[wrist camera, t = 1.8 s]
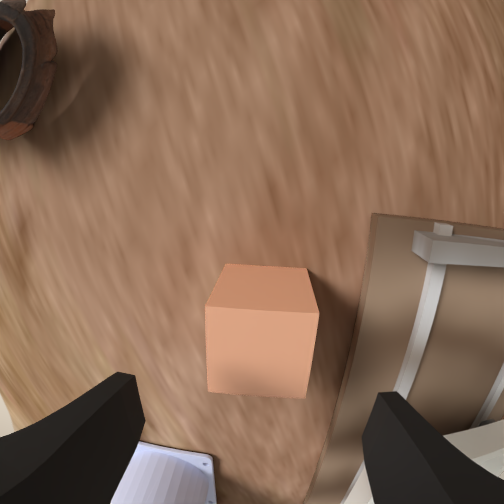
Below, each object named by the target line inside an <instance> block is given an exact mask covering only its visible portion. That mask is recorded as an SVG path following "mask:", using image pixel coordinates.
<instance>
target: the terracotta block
mask: <svg viewBox="0 0 504 504" xmlns="http://www.w3.org/2000/svg"><path fill="white" fill-rule="evenodd" d="M318 319H319V310H318V307H317V303H316V299H315V296H314V292H313V289H312V285H311V282H310V279H309V275H308V272H307V268H291V267H273V266H256V265H240V264H225V266H224V268H223V270H222V272H221V274H220V276H219V278H218V281H217V283H216V285H215V287H214V289H213V291H212V293H211V295H210V297H209V299H208V301H207V303H206V305H205V328H206V358H207V381H208V392H216V393H225V394H236V395H247V396H262V397H280V398H305V397H306V392H307V387H308V381H309V376H310V370H311V364H312V358H313V352H314V346H315V339H316V333H317V326H318Z"/></svg>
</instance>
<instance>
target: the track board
mask: <svg viewBox="0 0 504 504" xmlns="http://www.w3.org/2000/svg"><path fill="white" fill-rule="evenodd" d="M392 391H397V392H398V393H399V394H400V395H401V396H402V397H403V398H404V399H405V400H406V401H407V402H408V403H409V404H410V405H411V406H412V407H413V408H414V409H415V410H416V411H417V412H418V413H419V414H420V415H422V416H423V417H424V418H425V419H426V420H427V421H428V422H429V423H430V424H431V425H432V426H433V427H434V428H435V429H436V430H437V431H438V432H439V433H440V434H441V435H442V436H443V435H448V434H452V433H457V432H461V431H465V430H469V429H473V428H477V427H479V425H480V423H481V422H482V421H485V420H489V419H494V420H495V421H496V422H497V421H500V420H501V419H502V417H503V415H504V229H500V228H494V227H487V226H480V225H473V224H465V223H458V222H450V221H442V220H434V219H425V218H416V217H407V216H398V215H388V214H377V213H372V216H371V225H370V234H369V242H368V250H367V257H366V264H365V271H364V277H363V283H362V290H361V295H360V301H359V307H358V312H357V317H356V322H355V327H354V332H353V337H352V342H351V346H350V351H349V355H348V360H347V364H346V368H345V372H344V376H343V380H342V384H341V388H340V392H339V396H338V400H337V403H336V407H335V410H334V414H333V417H332V421H331V424H330V428H329V431H328V434H327V437H326V441H325V444H324V447H323V450H322V453H321V456H320V459H319V462H318V465H317V468H316V471H315V473H314V476H313V479H312V482H311V485H310V487H309V490H308V493H307V495H306V498H305V500H304V503H303V504H344V502H345V501H346V499H347V497H348V496H349V494H350V492H351V490H352V489H353V487H354V485H355V483H356V481H357V480H358V478H359V476H360V474H361V472H362V470H363V468H364V466H365V463H364V455H363V446H362V434H363V432H364V429H365V427H366V424H367V422H368V419H369V416H370V414H371V411H372V408H373V406H374V403H375V400H376V397H377V394H378V392H392Z"/></svg>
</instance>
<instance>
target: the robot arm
mask: <svg viewBox="0 0 504 504" xmlns="http://www.w3.org/2000/svg"><path fill="white" fill-rule="evenodd" d="M144 424H145V417H144V413H143V409H142V405H141V401H140V396H139V392H138V387H137V382H136V378H135V375H131V374H126V373H121V372H116V373H115V374H113V375H111V376H110V377H108V378H107V379H105V380H104V381H102V382H101V383H99V384H98V385H97V386H95V387H94V388H92V389H91V390H89V391H88V392H86V393H85V394H83V395H82V396H80V397H79V398H77V399H75V400H74V401H72V402H71V403H69V404H68V405H66V406H65V407H63V408H61V409H59V410H58V411H56V412H54V413H52V414H51V415H49V416H47V417H45V418H44V419H42V420H40V421H38V422H36V423H34V424H32V425H30V426H28V427H26V428H23V429H21V430H19V431H16V432H14V433H11V434H9V435H6V436H3V437H0V504H217V500H216V490H215V479H214V468H213V458H212V457H211V456H210V455H208V454H202V453H195V452H189V451H183V450H178V449H172V448H167V447H162V446H158V445H153V444H149V443H144V442H140V441H139V440H140V437H141V433H142V430H143V427H144ZM362 446H363V455H364V463H365V468H366V472H367V476H368V480H369V484H370V488H371V492H372V496H373V501H374V504H504V480H502V479H501V478H499V477H497V476H495V475H494V474H492V473H490V472H489V471H487V470H486V469H484V468H483V467H481V466H480V465H478V464H477V463H475V462H474V461H473V460H471V459H470V458H469V457H467V456H466V455H465V454H464V453H462V452H461V451H460V450H459V449H457V448H456V447H455V446H454V445H453V444H451V443H450V442H449V441H448V440H447V439H446V438H445V437H444V436H442V435H441V434H440V433H439V432H438V431H437V430H436V429H435V428H434V427H433V426H432V425H431V424H430V423H429V422H428V421H427V420H426V419H425V418H424V417H423V416H422V415H420V414H419V413H418V412H417V411H416V410H415V409H414V408H413V407H412V406H411V405H410V404H409V403H408V402H407V401H406V400H405V399H404V398H403V397H402V396H401V395H400V394H399V393H398V392H397V391H392V392H378V394H377V397H376V400H375V403H374V406H373V408H372V411H371V414H370V416H369V419H368V422H367V424H366V427H365V429H364V432H363V434H362Z"/></svg>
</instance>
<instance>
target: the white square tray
mask: <svg viewBox="0 0 504 504" xmlns="http://www.w3.org/2000/svg"><path fill="white" fill-rule="evenodd" d="M443 436H444V437H445V438H446V439H447V440H448V441H449V442H450V443H451V444H453V445H454V446H455V447H456V448H457V449H459V450H460V451H461V452H462V453H464V454H465V455H466V456H467V457H469V458H470V459H471V460H473V461H474V462H475V463H477V464H478V465H480V466H481V467H483V468H484V469H486V470H487V471H489V472H490V473H492V474H494V475H495V476H497V477H499V476H500V475H501V474H502V473H503V471H504V419H503V420H500V421H497V422H496V421H495V420H494V419H489V420H485V421H482V422H481V423H480V425H479V427H477V428H473V429H469V430H465V431H461V432H457V433H452V434H448V435H443ZM344 504H374V501H373V496H372V492H371V488H370V484H369V480H368V476H367V472H366V468H365V466H364V468H363V470H362V472H361V474H360V476H359V478H358V480H357V481H356V483H355V485H354V487H353V489H352V490H351V492H350V494H349V496H348V497H347V499H346V501H345V502H344Z"/></svg>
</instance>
